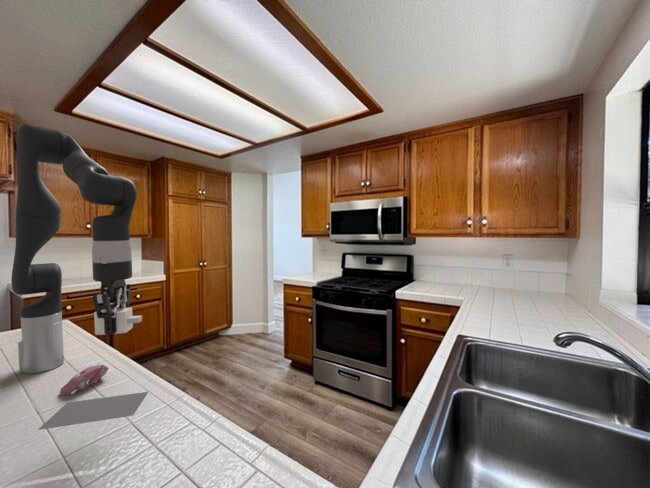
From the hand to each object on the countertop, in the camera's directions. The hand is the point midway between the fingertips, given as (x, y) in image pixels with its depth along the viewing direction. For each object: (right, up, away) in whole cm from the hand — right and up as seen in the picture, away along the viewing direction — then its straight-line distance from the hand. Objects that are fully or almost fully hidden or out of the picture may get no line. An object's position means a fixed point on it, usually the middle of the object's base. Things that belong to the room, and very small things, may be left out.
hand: (115, 330), depth 68 cm
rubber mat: (-4, -19, 0) cm, 20 cm away
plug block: (0, 0, 0) cm, 0 cm away
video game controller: (-16, -19, +10) cm, 27 cm away
